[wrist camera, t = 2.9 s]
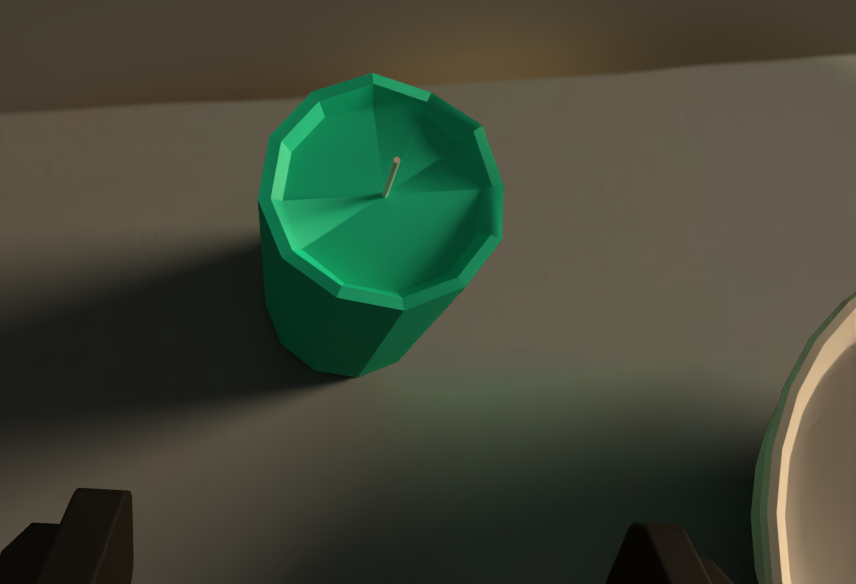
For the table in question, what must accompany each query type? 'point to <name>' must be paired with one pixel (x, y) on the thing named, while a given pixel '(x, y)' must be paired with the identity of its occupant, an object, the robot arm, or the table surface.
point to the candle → (372, 220)
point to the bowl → (811, 465)
